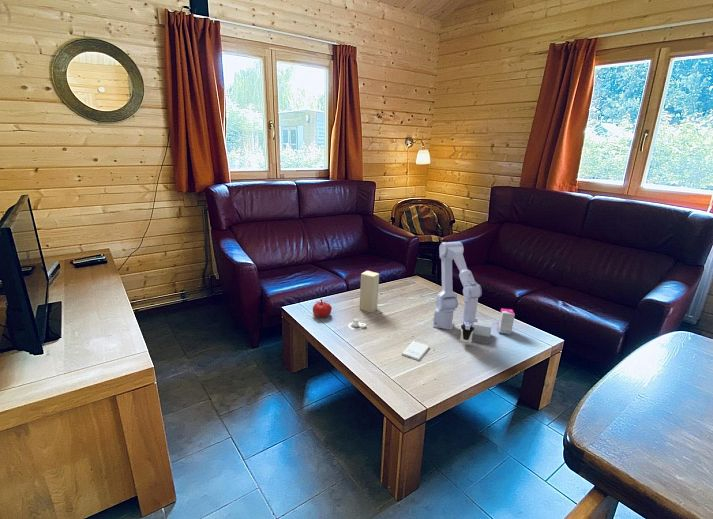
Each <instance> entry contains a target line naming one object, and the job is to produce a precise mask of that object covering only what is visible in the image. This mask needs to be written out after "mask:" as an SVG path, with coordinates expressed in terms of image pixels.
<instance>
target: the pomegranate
mask: <svg viewBox="0 0 713 519" xmlns="http://www.w3.org/2000/svg"><path fill="white" fill-rule="evenodd" d="M332 309H333V307H332V305H331V304H330V303H328V302H327V300H325V301H323V299H321V298H320V301H316V303H315V304H314V305H313V306H312V314H313V316H314V317H316V318H320V319H322V318H324V319H325V318H327V317H329V316H330V315H331V313H332V311H333V310H332Z"/></svg>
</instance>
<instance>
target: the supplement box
mask: <svg viewBox="0 0 713 519" xmlns="http://www.w3.org/2000/svg"><path fill="white" fill-rule="evenodd" d="M515 316H516V314H515V312H514V310H513V309H511V308H500V312H499V318H498V323H497V331H498V334H500V335H506V334H507V335H508V336H511V335H512V331H513V326H514V320H515Z"/></svg>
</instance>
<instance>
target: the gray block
mask: <svg viewBox="0 0 713 519" xmlns="http://www.w3.org/2000/svg"><path fill="white" fill-rule="evenodd" d="M472 327H474V330H473V334H472V341H471V342H478V343H482V344H487V345H490V342H491V334H492V333H491V332H492V327H490V326H489V327H488V326H483V325H478V324H475V323H473V325H472Z"/></svg>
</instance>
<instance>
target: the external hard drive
mask: <svg viewBox="0 0 713 519" xmlns="http://www.w3.org/2000/svg"><path fill="white" fill-rule="evenodd" d="M429 349H430V345H428V344H425V343H420V342H418V341H413V340H412V342H411V343H410V344H409V345H408V346H406V348H405V349H404V350H403V351H402V353H401V356H404V357H407V358H411V359H412V360H416V361H420V360H421V359H422V358H423V356H424V355H425V354H426V353H427V351H428V350H429Z"/></svg>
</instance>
